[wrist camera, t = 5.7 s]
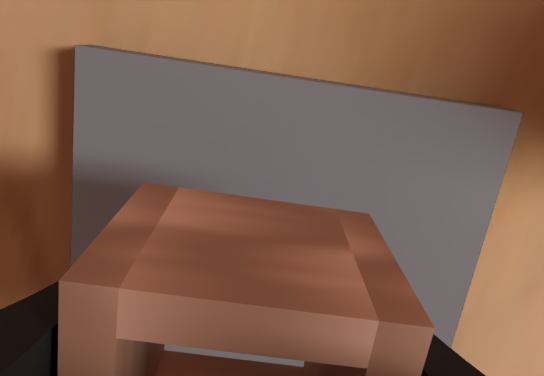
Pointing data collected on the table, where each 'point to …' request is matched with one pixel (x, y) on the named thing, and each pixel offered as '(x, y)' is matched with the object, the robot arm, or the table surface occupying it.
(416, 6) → the table surface
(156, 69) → the pin plate
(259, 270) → the hollow square block
